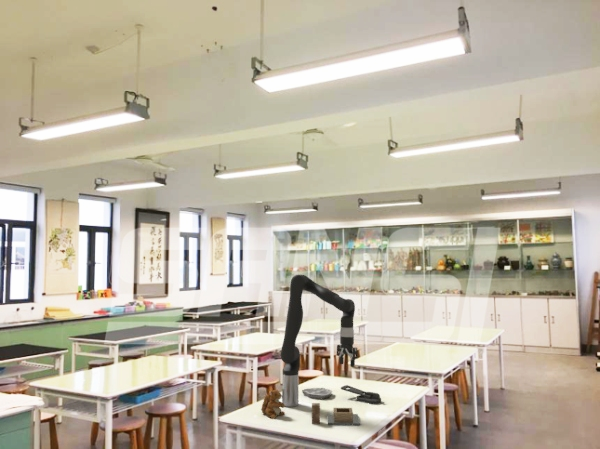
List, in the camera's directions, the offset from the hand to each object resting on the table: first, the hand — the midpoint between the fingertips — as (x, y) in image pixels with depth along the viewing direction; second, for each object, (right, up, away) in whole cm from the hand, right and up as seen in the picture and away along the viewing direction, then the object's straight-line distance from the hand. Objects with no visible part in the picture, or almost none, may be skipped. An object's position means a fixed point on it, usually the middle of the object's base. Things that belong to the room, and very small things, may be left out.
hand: (347, 365), depth 263 cm
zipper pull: (+11, -28, +22) cm, 37 cm away
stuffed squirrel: (-41, -25, -8) cm, 49 cm away
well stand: (-4, -23, -18) cm, 30 cm away
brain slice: (-15, -29, +33) cm, 46 cm away
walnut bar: (-18, -23, -22) cm, 36 cm away
